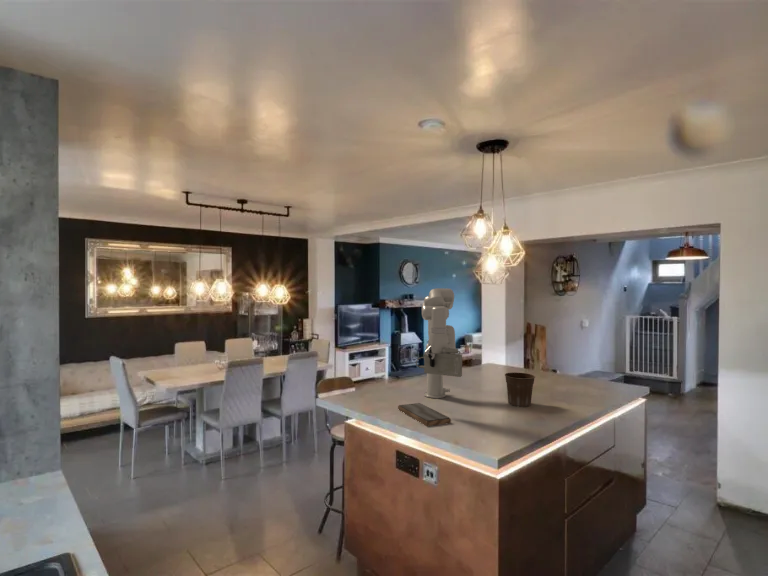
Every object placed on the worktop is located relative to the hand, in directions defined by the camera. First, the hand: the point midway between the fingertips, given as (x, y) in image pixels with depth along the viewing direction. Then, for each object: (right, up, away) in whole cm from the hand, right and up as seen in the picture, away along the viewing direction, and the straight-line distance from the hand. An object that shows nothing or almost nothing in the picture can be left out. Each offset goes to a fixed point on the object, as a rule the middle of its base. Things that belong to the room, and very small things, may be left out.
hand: (438, 366), depth 224 cm
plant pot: (+47, -25, +19) cm, 57 cm away
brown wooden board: (-8, -24, -6) cm, 26 cm away
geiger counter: (0, -4, 0) cm, 4 cm away
